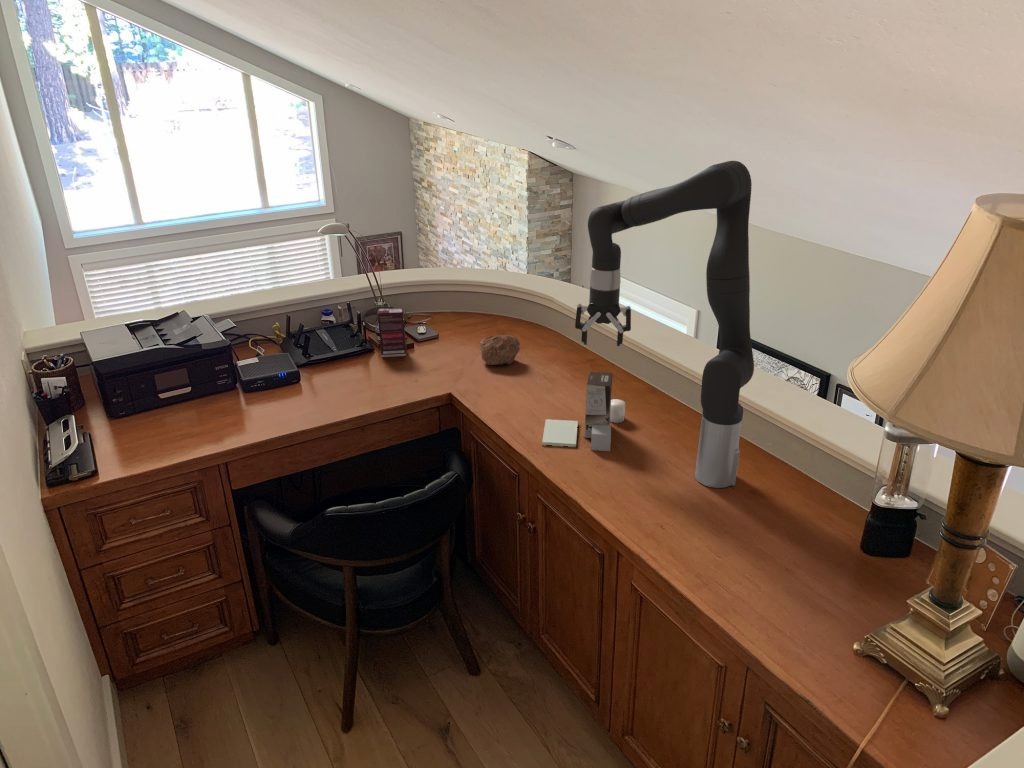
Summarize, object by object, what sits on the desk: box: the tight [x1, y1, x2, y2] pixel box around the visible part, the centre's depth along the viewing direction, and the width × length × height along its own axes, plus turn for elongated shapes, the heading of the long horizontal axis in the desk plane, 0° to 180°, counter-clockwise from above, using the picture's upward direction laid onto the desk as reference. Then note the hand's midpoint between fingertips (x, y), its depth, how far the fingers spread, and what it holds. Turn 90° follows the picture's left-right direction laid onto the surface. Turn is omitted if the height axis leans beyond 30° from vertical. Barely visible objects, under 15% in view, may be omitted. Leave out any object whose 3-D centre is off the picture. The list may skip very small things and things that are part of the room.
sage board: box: [541, 418, 579, 448], centre depth 206 cm, size 9×13×1 cm
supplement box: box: [376, 307, 407, 358], centre depth 254 cm, size 9×5×16 cm, turn 97°
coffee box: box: [583, 371, 613, 439], centre depth 204 cm, size 9×6×16 cm
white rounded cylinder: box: [610, 398, 626, 424], centre depth 213 cm, size 5×5×5 cm
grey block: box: [590, 425, 612, 452], centre depth 199 cm, size 5×5×5 cm
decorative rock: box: [478, 334, 521, 366], centre depth 249 cm, size 13×11×10 cm
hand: (601, 344), depth 197 cm, fingers open, 8 cm apart
